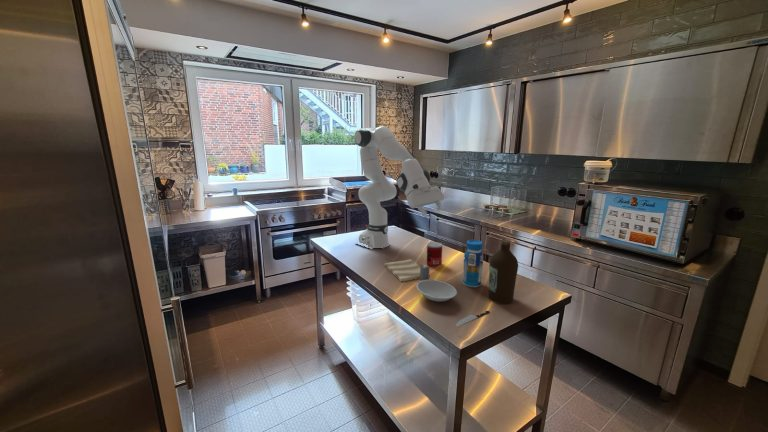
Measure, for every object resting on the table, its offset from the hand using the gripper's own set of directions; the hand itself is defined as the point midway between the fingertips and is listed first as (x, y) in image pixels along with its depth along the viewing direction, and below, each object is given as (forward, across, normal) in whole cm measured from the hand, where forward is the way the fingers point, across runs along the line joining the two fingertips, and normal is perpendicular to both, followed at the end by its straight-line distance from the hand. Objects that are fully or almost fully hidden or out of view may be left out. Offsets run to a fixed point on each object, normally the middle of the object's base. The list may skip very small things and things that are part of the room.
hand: (432, 212), depth 144 cm
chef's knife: (+47, +19, +15) cm, 53 cm away
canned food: (+22, -5, -22) cm, 32 cm away
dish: (+37, +20, +2) cm, 42 cm away
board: (+20, +13, -22) cm, 32 cm away
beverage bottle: (+37, -3, 0) cm, 37 cm away
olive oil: (+46, -2, +12) cm, 48 cm away
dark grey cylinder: (+29, +15, -9) cm, 34 cm away
